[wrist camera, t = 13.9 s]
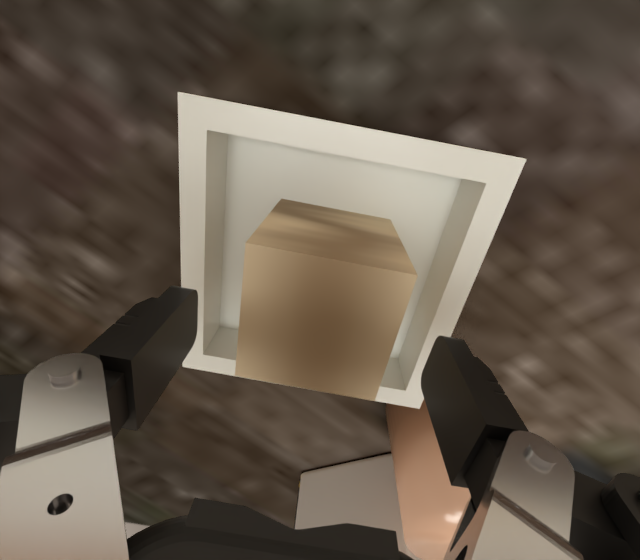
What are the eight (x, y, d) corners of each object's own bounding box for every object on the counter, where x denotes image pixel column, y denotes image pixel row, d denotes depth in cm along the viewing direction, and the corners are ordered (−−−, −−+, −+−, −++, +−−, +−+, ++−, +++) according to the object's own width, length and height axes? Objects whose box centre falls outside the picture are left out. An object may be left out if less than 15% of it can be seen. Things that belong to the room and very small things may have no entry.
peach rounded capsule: (377, 430, 22) (391, 557, 15) (397, 372, 19) (424, 493, 13) (451, 443, 22) (495, 575, 15) (480, 387, 19) (546, 514, 13)
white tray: (205, 331, 19) (182, 366, 16) (210, 97, 14) (177, 91, 11) (408, 368, 19) (419, 408, 16) (490, 152, 14) (526, 158, 11)
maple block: (269, 294, 17) (234, 375, 11) (281, 198, 15) (245, 242, 9) (364, 312, 17) (374, 401, 12) (390, 219, 15) (418, 275, 9)
